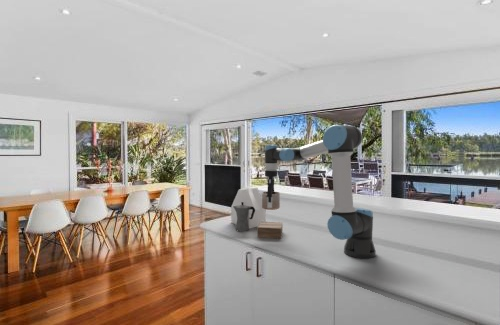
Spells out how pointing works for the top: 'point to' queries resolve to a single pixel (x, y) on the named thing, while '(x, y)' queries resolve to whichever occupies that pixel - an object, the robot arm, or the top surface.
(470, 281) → the top surface
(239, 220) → the coffeepot
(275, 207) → the planter
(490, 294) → the top surface
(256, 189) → the white slotted block
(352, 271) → the top surface
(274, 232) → the plinth
